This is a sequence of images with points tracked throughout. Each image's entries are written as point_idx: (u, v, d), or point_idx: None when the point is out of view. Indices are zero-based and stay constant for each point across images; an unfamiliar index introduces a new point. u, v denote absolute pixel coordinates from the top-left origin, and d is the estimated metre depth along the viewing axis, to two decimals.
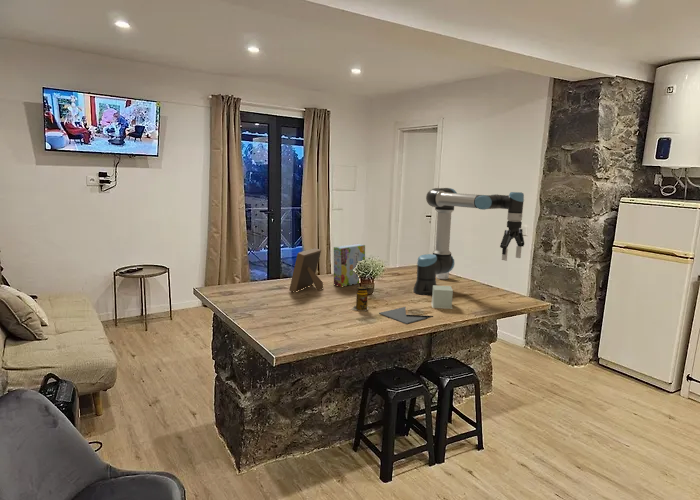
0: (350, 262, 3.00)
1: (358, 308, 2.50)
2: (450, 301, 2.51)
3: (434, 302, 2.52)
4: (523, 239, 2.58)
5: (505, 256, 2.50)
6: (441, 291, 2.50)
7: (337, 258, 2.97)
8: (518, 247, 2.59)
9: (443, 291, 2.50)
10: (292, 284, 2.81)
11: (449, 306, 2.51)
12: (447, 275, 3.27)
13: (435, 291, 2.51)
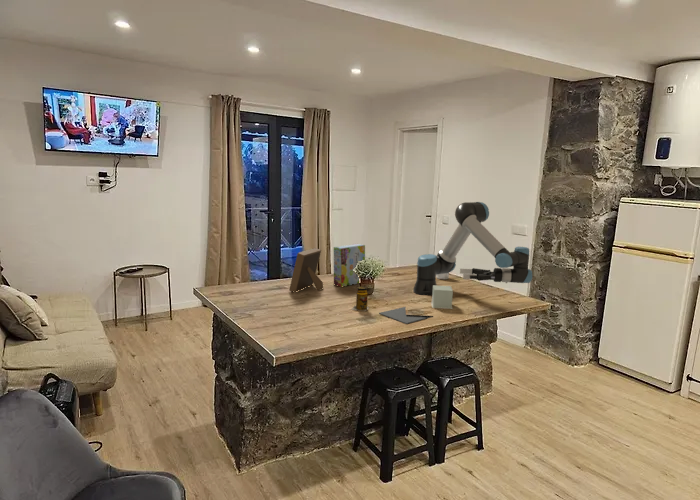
0: (350, 262, 3.00)
1: (358, 308, 2.50)
2: (450, 301, 2.51)
3: (434, 302, 2.52)
4: None
5: (467, 278, 2.46)
6: (441, 291, 2.50)
7: (337, 258, 2.97)
8: (470, 271, 2.58)
9: (443, 291, 2.50)
10: (292, 284, 2.81)
11: (449, 306, 2.51)
12: (447, 275, 3.27)
13: (435, 291, 2.51)
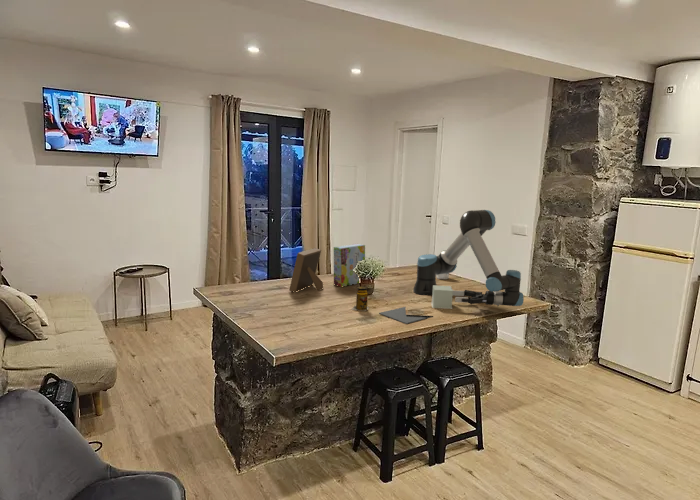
0: (350, 262, 3.00)
1: (358, 308, 2.50)
2: (450, 301, 2.51)
3: (434, 302, 2.52)
4: None
5: (459, 301, 2.48)
6: (441, 291, 2.50)
7: (337, 258, 2.97)
8: (463, 293, 2.60)
9: (443, 291, 2.50)
10: (292, 284, 2.81)
11: (449, 306, 2.51)
12: (447, 275, 3.27)
13: (435, 291, 2.51)
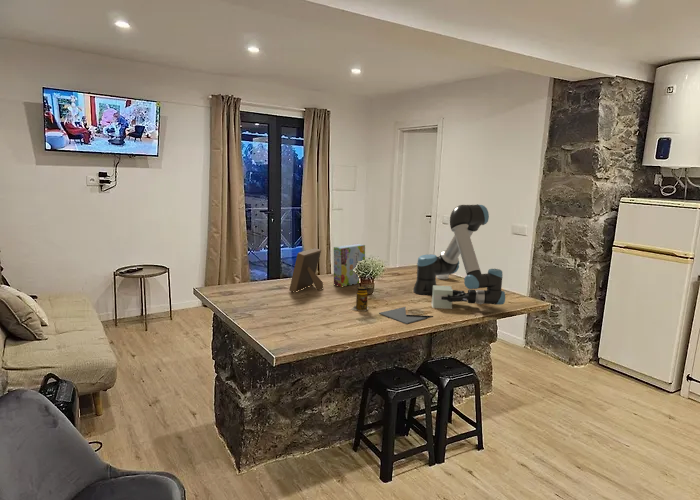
0: (350, 262, 3.00)
1: (358, 308, 2.50)
2: None
3: (434, 302, 2.52)
4: None
5: (439, 298, 2.51)
6: (441, 291, 2.50)
7: (337, 258, 2.97)
8: None
9: (443, 291, 2.50)
10: (292, 284, 2.81)
11: (449, 306, 2.51)
12: (447, 275, 3.27)
13: (435, 291, 2.51)
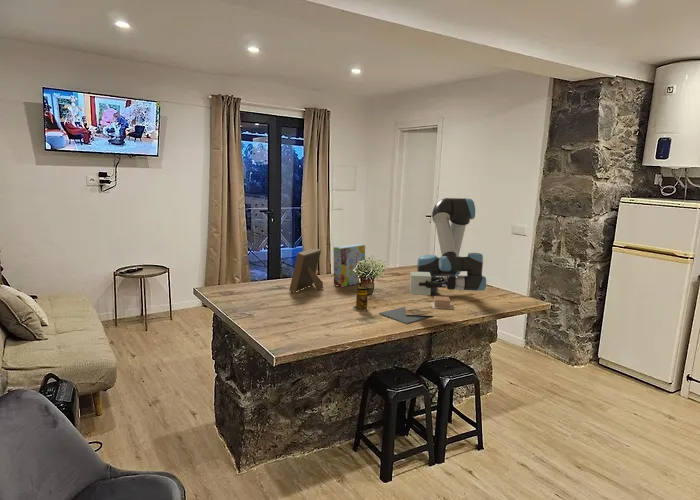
0: (350, 262, 3.00)
1: (358, 308, 2.50)
2: None
3: (411, 288, 2.37)
4: None
5: (416, 285, 2.36)
6: (419, 277, 2.36)
7: (337, 258, 2.97)
8: None
9: (421, 277, 2.36)
10: (292, 284, 2.81)
11: (427, 292, 2.37)
12: None
13: (412, 277, 2.36)
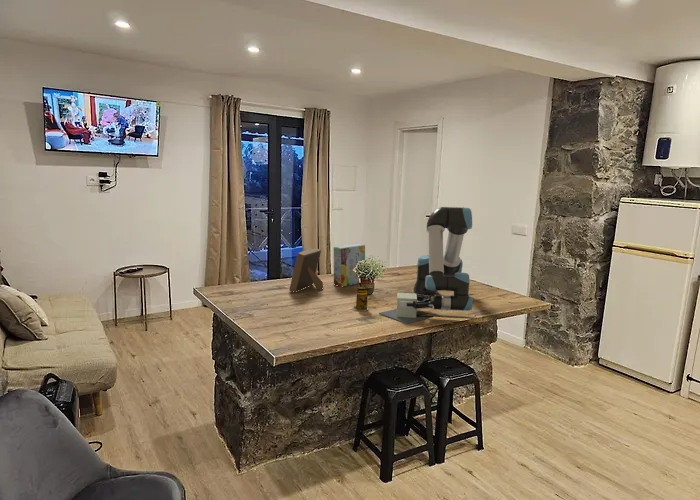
0: (350, 261, 3.00)
1: (358, 308, 2.50)
2: (414, 310, 2.36)
3: (397, 311, 2.37)
4: None
5: (404, 305, 2.35)
6: (405, 299, 2.36)
7: (337, 258, 2.97)
8: None
9: (407, 299, 2.36)
10: (292, 284, 2.81)
11: (413, 315, 2.37)
12: None
13: (398, 299, 2.36)
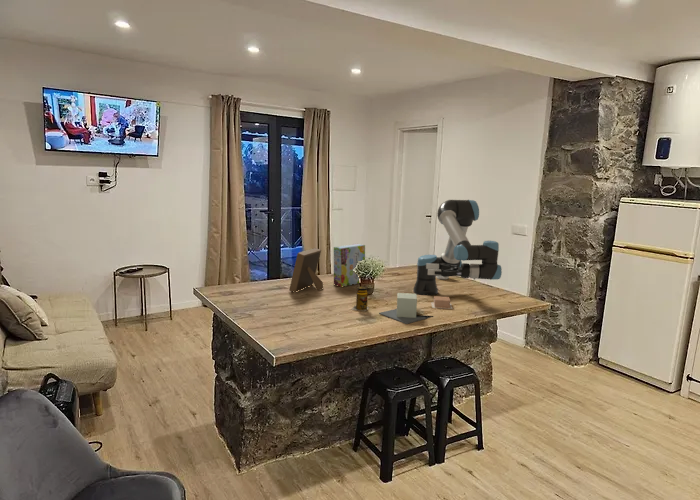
0: (350, 262, 3.00)
1: (358, 308, 2.50)
2: (414, 310, 2.36)
3: (397, 311, 2.37)
4: None
5: (432, 273, 2.30)
6: (405, 299, 2.36)
7: (337, 258, 2.97)
8: (437, 266, 2.42)
9: (407, 299, 2.36)
10: (292, 284, 2.81)
11: (413, 315, 2.37)
12: None
13: (398, 299, 2.36)
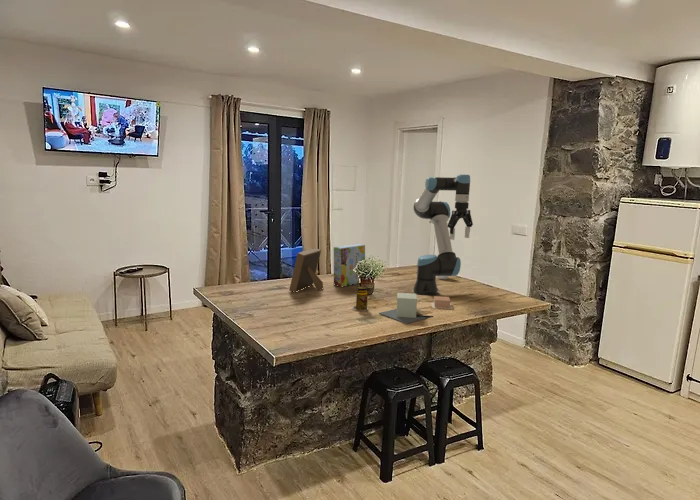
0: (350, 262, 3.00)
1: (358, 308, 2.50)
2: (414, 310, 2.36)
3: (397, 311, 2.37)
4: (471, 220, 2.71)
5: (453, 235, 2.62)
6: (405, 299, 2.36)
7: (337, 258, 2.97)
8: (467, 227, 2.71)
9: (407, 299, 2.36)
10: (292, 284, 2.81)
11: (413, 315, 2.37)
12: None
13: (398, 299, 2.36)
